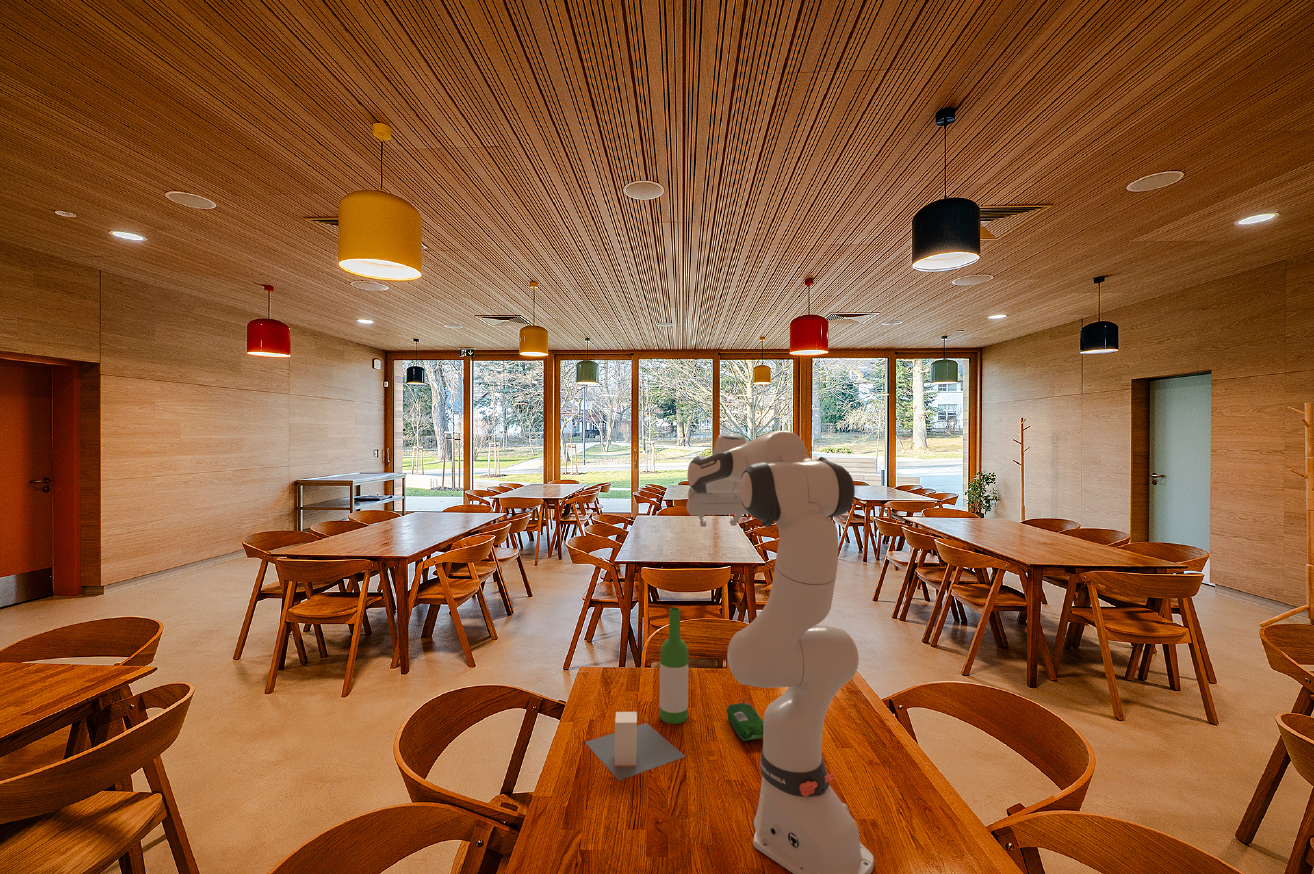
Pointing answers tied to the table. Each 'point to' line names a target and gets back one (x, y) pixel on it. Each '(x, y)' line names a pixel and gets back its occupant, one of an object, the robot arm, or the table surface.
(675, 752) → the mat
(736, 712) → the snack package
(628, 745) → the block
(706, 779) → the table surface
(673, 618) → the wine bottle
